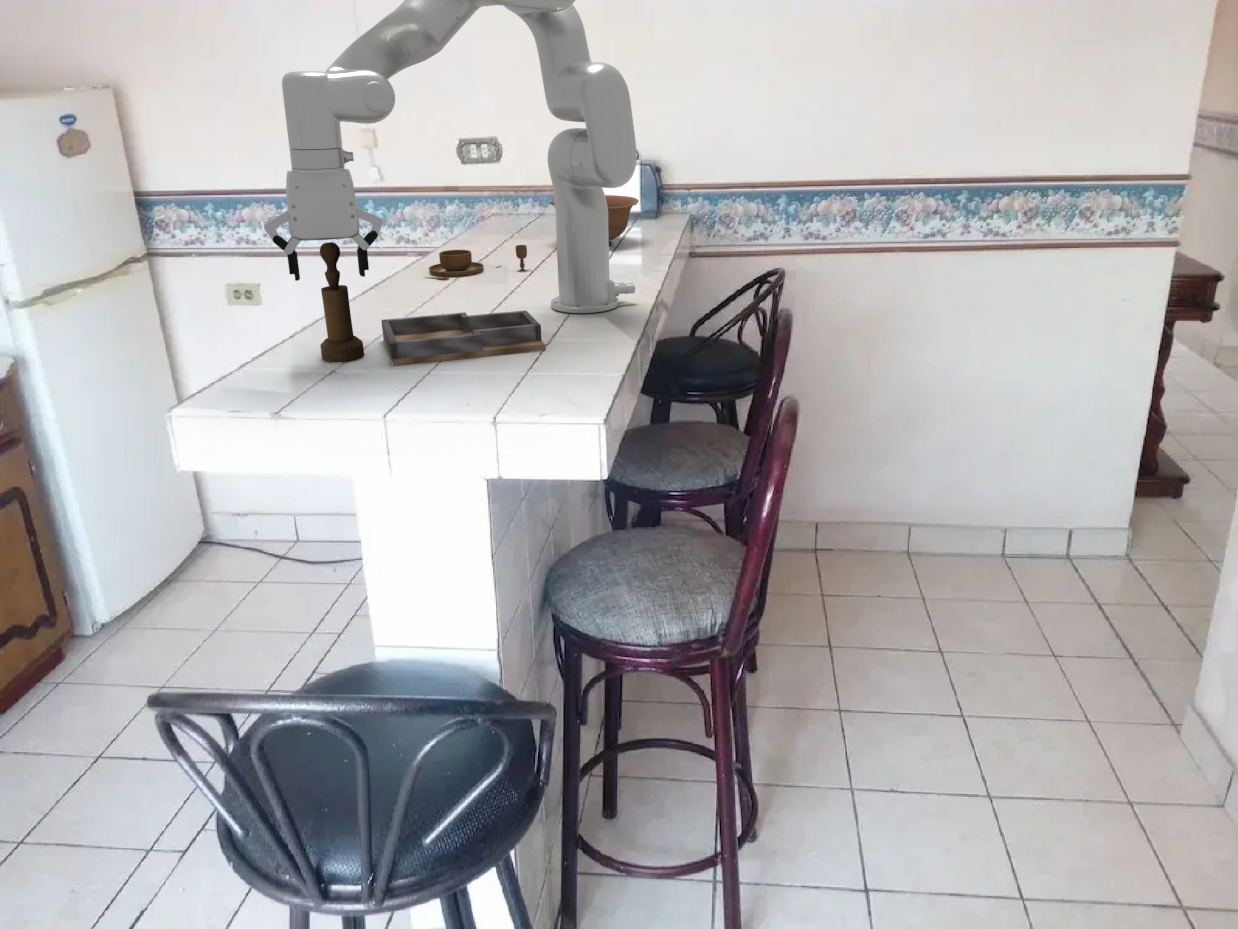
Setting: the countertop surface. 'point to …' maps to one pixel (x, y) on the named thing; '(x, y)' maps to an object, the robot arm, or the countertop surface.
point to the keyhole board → (460, 336)
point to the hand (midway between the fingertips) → (330, 276)
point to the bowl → (617, 214)
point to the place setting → (465, 263)
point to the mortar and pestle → (337, 313)
